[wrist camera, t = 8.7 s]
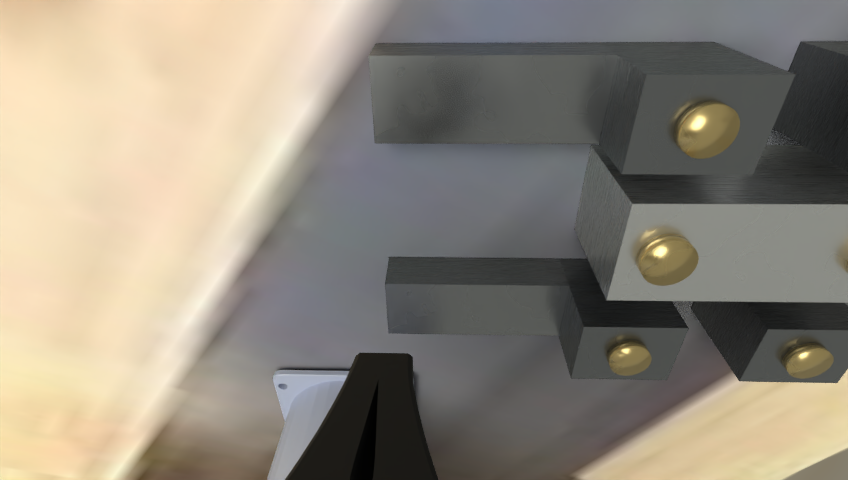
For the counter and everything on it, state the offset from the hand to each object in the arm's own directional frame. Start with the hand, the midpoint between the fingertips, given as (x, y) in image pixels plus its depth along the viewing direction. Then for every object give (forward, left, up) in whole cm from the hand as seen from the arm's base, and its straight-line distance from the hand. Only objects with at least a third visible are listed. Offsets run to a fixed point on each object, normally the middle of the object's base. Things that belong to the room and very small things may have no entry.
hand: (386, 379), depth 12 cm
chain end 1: (0, -5, -10) cm, 11 cm away
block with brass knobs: (0, -12, -10) cm, 16 cm away
